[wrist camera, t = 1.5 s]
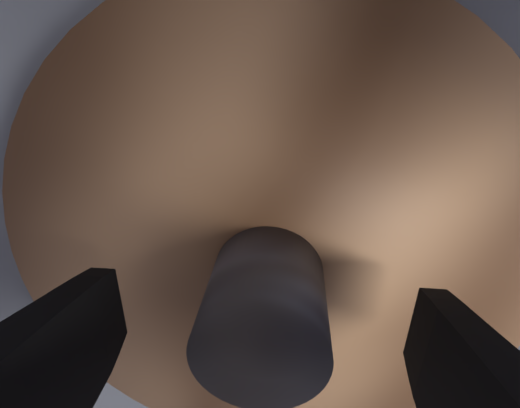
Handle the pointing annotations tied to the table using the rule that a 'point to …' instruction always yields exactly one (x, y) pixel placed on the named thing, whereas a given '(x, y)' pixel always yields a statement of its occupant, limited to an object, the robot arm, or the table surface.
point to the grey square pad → (39, 47)
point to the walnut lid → (272, 189)
